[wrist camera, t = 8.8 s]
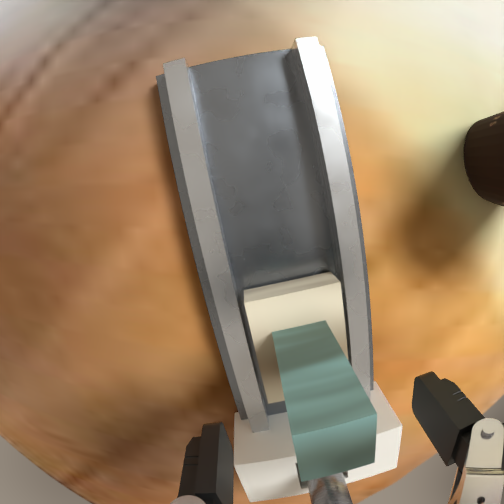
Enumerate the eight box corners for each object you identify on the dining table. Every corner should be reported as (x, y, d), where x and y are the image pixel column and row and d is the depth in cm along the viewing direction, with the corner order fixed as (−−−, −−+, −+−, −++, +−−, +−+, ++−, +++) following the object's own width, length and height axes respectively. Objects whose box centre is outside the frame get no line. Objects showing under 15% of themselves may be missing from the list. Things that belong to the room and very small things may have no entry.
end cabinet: (234, 412, 22) (233, 465, 17) (375, 380, 22) (402, 425, 17) (248, 452, 23) (250, 502, 18) (374, 423, 23) (396, 467, 18)
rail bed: (160, 80, 17) (148, 67, 15) (319, 51, 17) (330, 35, 14) (250, 440, 23) (251, 463, 21) (369, 413, 23) (379, 433, 20)
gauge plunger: (292, 438, 20) (313, 548, 11) (337, 427, 19) (374, 532, 10) (297, 463, 20) (316, 563, 11) (338, 454, 20) (370, 550, 11)
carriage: (243, 290, 19) (246, 399, 9) (330, 271, 19) (408, 358, 9) (266, 385, 20) (280, 508, 11) (341, 368, 20) (395, 478, 10)
